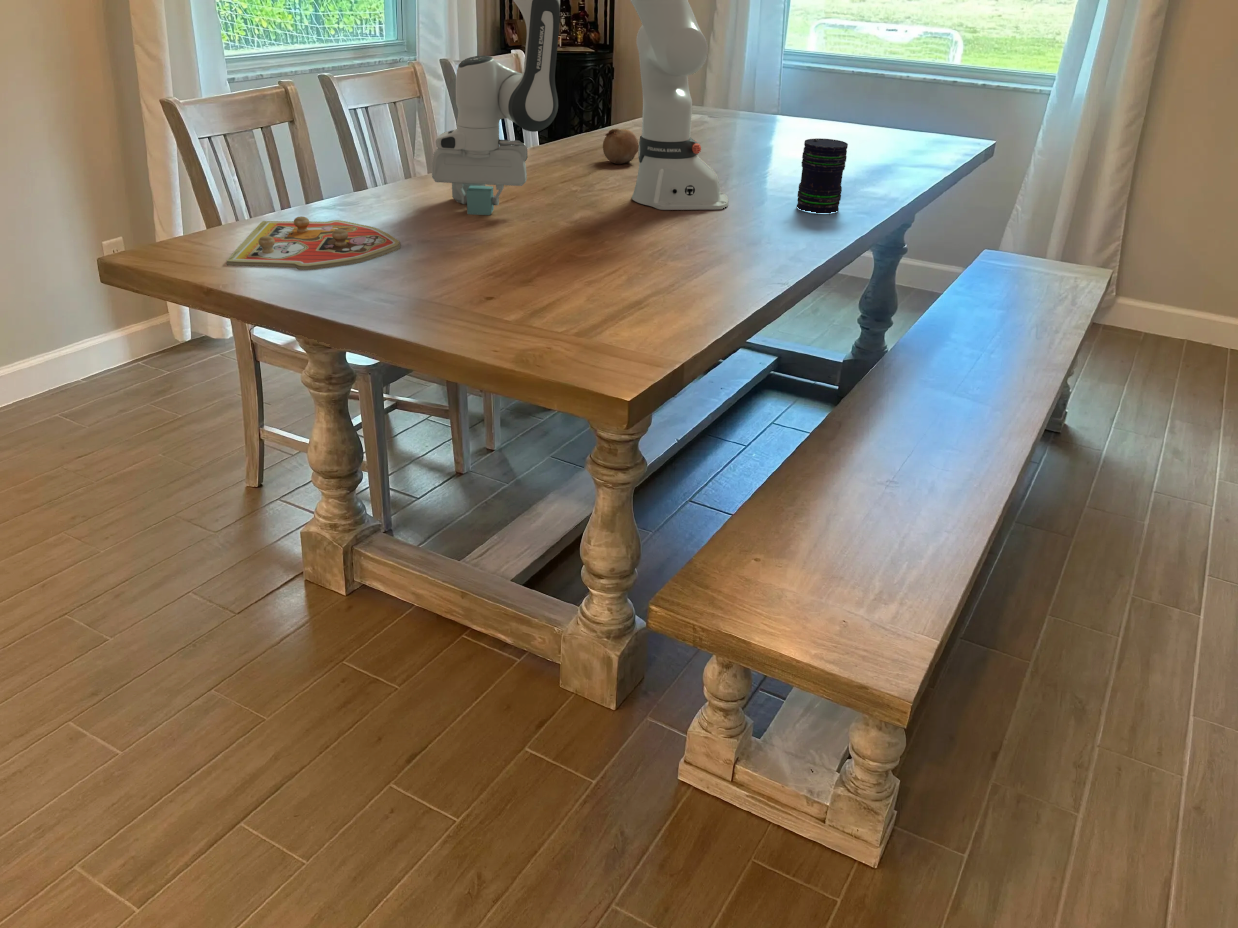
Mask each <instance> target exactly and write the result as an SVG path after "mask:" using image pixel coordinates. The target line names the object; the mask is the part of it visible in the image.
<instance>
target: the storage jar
mask: <svg viewBox="0 0 1238 928" xmlns="http://www.w3.org/2000/svg"><path fill="white" fill-rule="evenodd" d="M803 145H804V147H803V152H802V157H801V158H802V159H801V167H802V169H801V176H800V183H799V184H798V190H797V204H796V208H797V207H798V208H799V209H801V210H805V211H811V212H816V213H831V212H836V211H838V212H839V210H840V208H839V206H840V201H841V199H842V189H843V187H842V180H843V174H844V171H845V168H846V162H847V157H848V156H847V153H848V152H847V151H848V150H847V149H848V145H849V144H848V143H847V142H846V141H843V140H838V139H832V138H820V137H819V138H809V139H805V140H804V143H803Z"/></svg>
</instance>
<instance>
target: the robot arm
mask: <svg viewBox="0 0 1238 928" xmlns="http://www.w3.org/2000/svg"><path fill="white" fill-rule="evenodd" d="M513 2H514V3H515V5H516V6H517V7H518V9H519V11H520V12H521V15H522V17H523V21H524V22H525V26H526V28H525V29H526V40H525V42H526V43H525V50H524V51H525V52H524V53H525V54H524V62H523V72H522V73H521V72H519V71H516V70H514V69H511V68H509V67H507V66H505V65H503V64H501V63H500V62H498V61H497V60H495V58H494V57H493V56H490V55H476V56H470V57H468V58H465V59H463V60H462V61H461V62H460V63H458V66H457V68H456V72H455V73H456V74H455V75H456V76H455V104H456V105H455V106H456V107H457V119H456V128H455V129H451V130H449V131H446V132H442V133H440V134H439V135H438V136H437V137H436V139H435V146H436V149H435V150H434V152H433V153H432V154H433V155H432V161H431V178H432V179H433V181H434V182H435V183H443V184H445V183H446V184H452V183H456V189H457V190H458V192H459V194H460V195H461V196H462V203H461V204H462V205H467V194H466V193H465V192H464V190H463V186H464V183H465V184H485V185H487V186H491V185H492V186H495V190H496V192H497V193H496V194H495V195H493V196H492V197H491V201H492V202H491V205H494V206H499V203H500V196H501V193H502V191H503V190H504V187H505V186H512V187H513V186H514V187H515V186H516V187H522V186H524V184H525V183H526V182H527V179H528V175H527V165H526V161H527V160H528V156H529V155H528V147H527V145H526V144H525V143H523V142H521V141H520V140H516V139H515V140H509V139H500V121H501V120H502V119H503V120H504V119H507V120H509V121H511V122H513V123H515V124H516V125H517V126H518V127H519V128H521V129H523V130H525V131H526V132H532V133H533V132H539V131H542V130H544V129H546V128H547V127H549V126H550V125H551V124H552V123H553V122H554V121H555V118H556V116H557V113H558V109H559V98H558V92H557V86H556V66H557V54H558V48H559V47H558V44H559V36H560V35H559V34H560V24H561V23H560V19H561V14H560V13H561V0H513ZM629 2H630V3H631V4H632V6H633V8H634V9H635V12H636V13H637V16H638V17H639V20H640V21H641V26H640V27H639V29H638V31H637V34H636V40H635V41H636V48H637V52H638V56H639V57H638V58H639V60H638V61H639V72H640V81H641V91H642V92H641V93H642V121H641V135H640V136H639V141H638V145H639V148H638V152H637V153H638V155H637V156H638V158H637V159H638V162H639V164H638V169H637V170H638V172H637V176H636V181H635V186H634V189H633V193H632V196H631V200H633V201H634V202H635V203H638V204H641V205H645V206H648V207H653V208H654V209H657V210H662V211H671V210H672V211H673V210H677V211H679V210H681V211H682V210H683V211H684V210H687V211H688V210H691V211H694V210H695V211H697V210H724V209H726V208H727V207H728V206H729V197H728V196H727V194H725V193H724V192H722V191H721V183H720V180H719V177H718V175H717V172H715V171H716V170H714V169H713V168H712V167H710V166H709V165H708V164H707V163H706V162H705V161H704V160H702V158H700V157H699V154H700V153H701V150H702V146H701V144H700V143H699V142H698V141H697V140H696V139H693V138H692V137H691V129H692V113H693V99H692V96H691V92H690V86H689V76H690V75H693V74H696V73H698V72H699V70H701V69H702V68H703V66H704V65H705V63H706V62H707V58H708V53H709V45H708V41H707V39H706V37H705V35H704V34H703V32H702V30H701V28H700V26H699V24H698V21H697V18H696V16H695V14H694V11H693V8H692V6H691V4H690V2H689V0H629ZM725 207H726V208H725ZM723 208H724V209H723Z"/></svg>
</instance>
